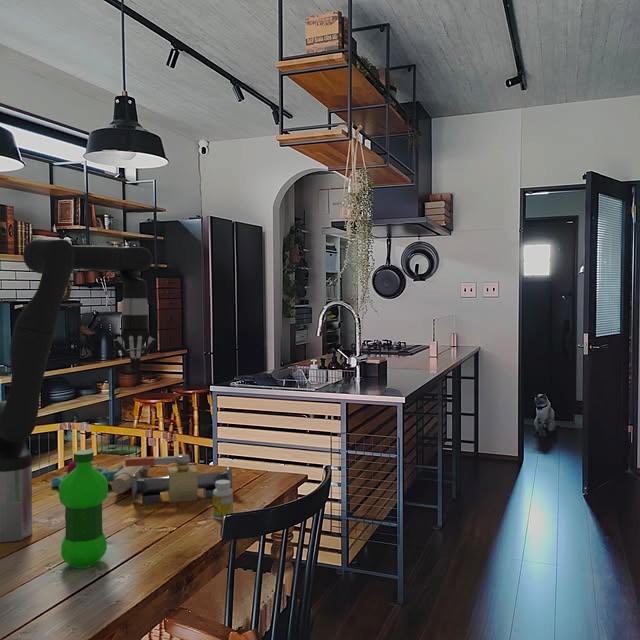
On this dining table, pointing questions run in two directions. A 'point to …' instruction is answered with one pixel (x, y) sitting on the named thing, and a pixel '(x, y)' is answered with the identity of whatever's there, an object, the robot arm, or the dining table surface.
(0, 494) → the robot arm
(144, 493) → the pipe valve
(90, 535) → the plastic bottle
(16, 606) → the dining table surface
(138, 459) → the valve lever
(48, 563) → the dining table surface
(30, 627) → the dining table surface
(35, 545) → the dining table surface
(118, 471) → the butterfly valve
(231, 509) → the supplement bottle
